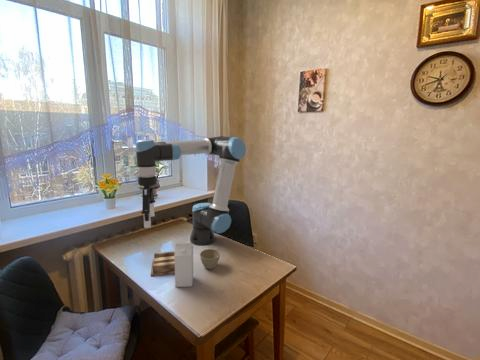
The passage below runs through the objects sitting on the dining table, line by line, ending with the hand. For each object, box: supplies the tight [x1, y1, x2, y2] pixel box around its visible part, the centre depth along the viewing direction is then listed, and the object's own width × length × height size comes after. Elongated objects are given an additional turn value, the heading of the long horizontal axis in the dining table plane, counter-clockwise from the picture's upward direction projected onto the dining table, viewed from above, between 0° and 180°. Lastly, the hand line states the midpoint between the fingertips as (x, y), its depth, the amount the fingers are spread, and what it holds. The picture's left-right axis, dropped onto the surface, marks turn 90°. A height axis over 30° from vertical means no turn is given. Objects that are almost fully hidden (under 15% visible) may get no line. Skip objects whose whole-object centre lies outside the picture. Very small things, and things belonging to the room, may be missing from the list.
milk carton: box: [174, 242, 194, 288], centre depth 109 cm, size 7×7×19 cm
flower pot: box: [199, 248, 221, 270], centre depth 123 cm, size 10×10×7 cm
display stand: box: [150, 250, 175, 277], centre depth 123 cm, size 16×14×4 cm
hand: (149, 221), depth 112 cm, fingers open, 13 cm apart
